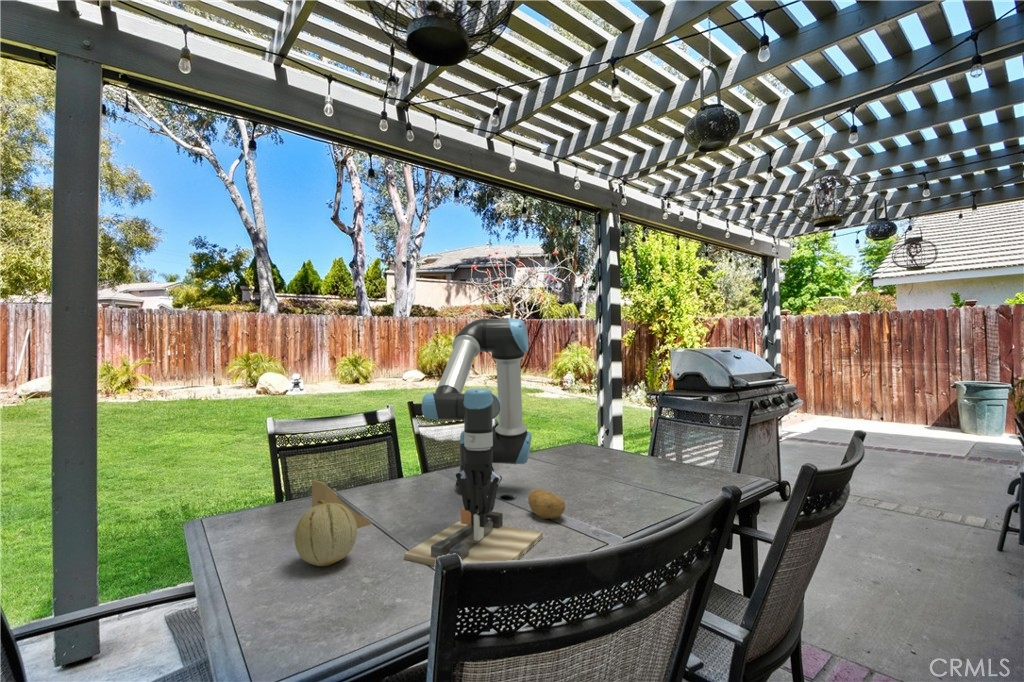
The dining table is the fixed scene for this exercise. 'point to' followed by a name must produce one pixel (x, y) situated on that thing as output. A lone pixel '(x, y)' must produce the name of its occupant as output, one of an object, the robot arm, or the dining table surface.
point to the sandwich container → (334, 501)
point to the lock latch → (465, 517)
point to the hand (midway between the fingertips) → (478, 538)
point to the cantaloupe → (325, 534)
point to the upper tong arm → (471, 541)
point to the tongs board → (491, 548)
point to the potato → (546, 504)
